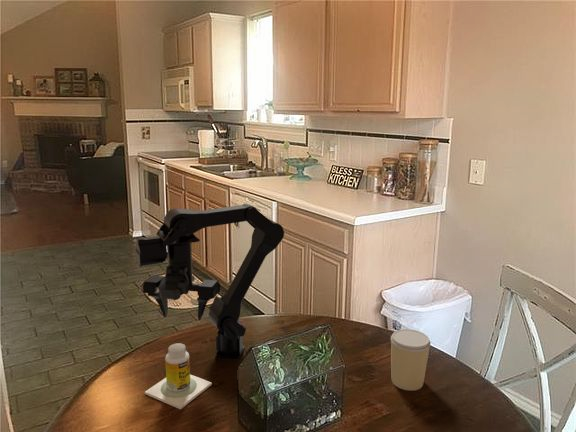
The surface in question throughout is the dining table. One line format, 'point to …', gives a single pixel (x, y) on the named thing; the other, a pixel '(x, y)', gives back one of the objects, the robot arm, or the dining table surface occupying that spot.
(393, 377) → the coffee cup
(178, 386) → the supplement bottle
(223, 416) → the dining table surface
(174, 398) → the card
